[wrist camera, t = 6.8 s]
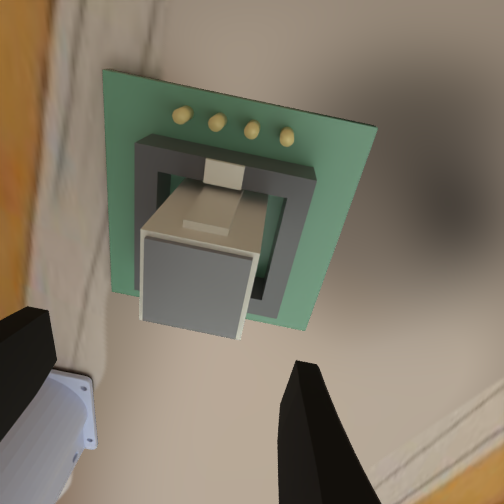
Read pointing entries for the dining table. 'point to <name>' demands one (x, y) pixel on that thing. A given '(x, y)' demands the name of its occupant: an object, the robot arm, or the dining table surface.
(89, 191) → the dining table surface
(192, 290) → the plug
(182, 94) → the header socket
